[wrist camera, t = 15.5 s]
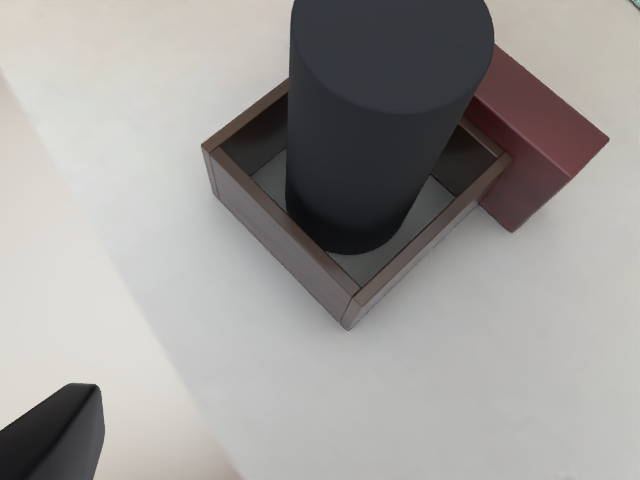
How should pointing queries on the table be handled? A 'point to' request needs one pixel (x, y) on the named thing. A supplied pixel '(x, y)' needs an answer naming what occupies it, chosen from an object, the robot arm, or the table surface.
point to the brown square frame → (450, 169)
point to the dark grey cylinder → (375, 108)
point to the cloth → (637, 2)
